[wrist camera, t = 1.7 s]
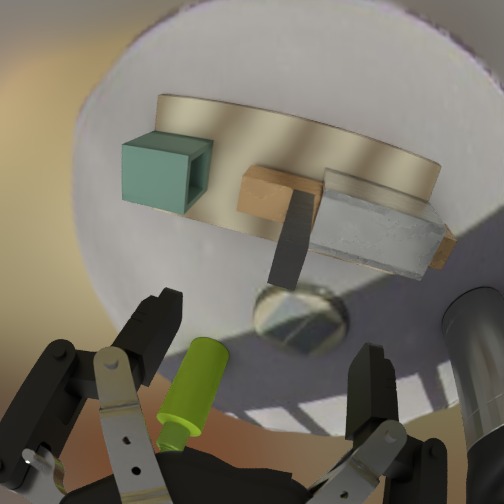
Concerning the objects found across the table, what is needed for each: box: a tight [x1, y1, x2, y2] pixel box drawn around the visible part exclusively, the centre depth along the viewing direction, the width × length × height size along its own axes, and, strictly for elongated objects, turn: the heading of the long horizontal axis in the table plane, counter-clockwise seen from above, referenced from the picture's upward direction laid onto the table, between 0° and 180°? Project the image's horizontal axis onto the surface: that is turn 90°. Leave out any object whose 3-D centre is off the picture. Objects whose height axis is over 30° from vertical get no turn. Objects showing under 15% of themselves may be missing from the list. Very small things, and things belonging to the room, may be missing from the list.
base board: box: [152, 94, 441, 275], centre depth 27 cm, size 26×12×1 cm, turn 80°
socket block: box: [122, 131, 214, 215], centre depth 25 cm, size 6×5×6 cm
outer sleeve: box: [308, 167, 447, 281], centre depth 24 cm, size 10×5×6 cm, turn 80°
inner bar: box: [236, 165, 457, 290], centre depth 21 cm, size 18×3×10 cm, turn 80°
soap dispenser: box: [156, 337, 229, 452], centre depth 35 cm, size 6×7×20 cm
